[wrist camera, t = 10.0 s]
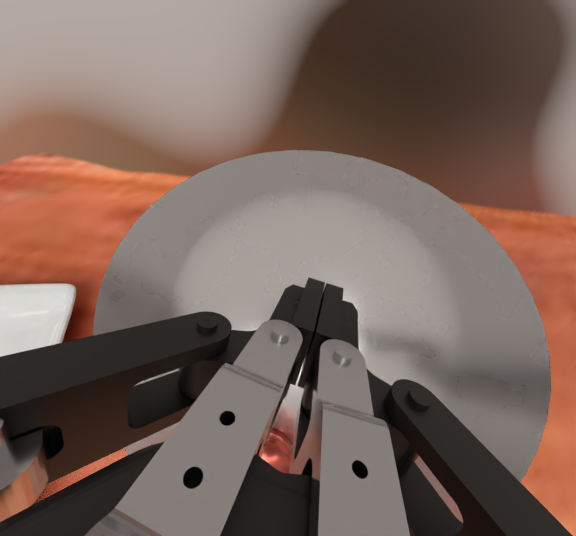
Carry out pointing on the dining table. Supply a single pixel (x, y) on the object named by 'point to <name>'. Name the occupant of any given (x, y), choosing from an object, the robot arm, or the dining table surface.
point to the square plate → (34, 315)
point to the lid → (347, 286)
